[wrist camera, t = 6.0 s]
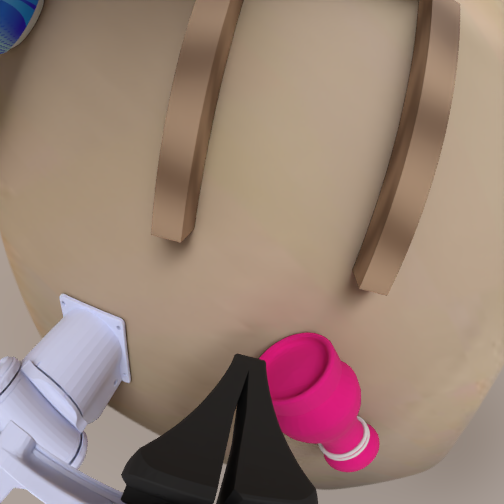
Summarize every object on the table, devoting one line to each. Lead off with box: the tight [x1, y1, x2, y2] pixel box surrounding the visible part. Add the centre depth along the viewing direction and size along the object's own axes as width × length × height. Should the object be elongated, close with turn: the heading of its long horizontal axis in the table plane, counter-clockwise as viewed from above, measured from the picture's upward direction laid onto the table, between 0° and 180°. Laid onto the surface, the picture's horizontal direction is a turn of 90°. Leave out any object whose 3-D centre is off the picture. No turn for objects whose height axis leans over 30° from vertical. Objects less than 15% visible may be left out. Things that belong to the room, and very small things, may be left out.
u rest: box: [151, 0, 460, 296], centre depth 13 cm, size 24×15×2 cm, turn 167°
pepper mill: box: [259, 332, 379, 472], centre depth 21 cm, size 7×7×20 cm
